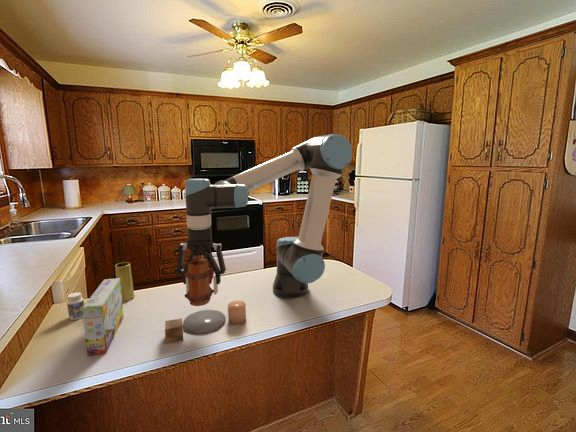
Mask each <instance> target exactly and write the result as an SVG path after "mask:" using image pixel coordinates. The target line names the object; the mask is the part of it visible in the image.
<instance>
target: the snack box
mask: <svg viewBox="0 0 576 432" xmlns="http://www.w3.org/2000/svg"><path fill="white" fill-rule="evenodd" d="M82 313H83V317H82V319H83V320H82V322H83V329H84V337H85V347H86V348H85V349H86V356H87V357H88V356H92V355H102V354H106V353H108V350H109V348H110V347H111V344H112V341H113V340H114V338H115V335H116V333H117V332H118V330H119V329H120V326H121V324H122V322H123V320H124V318H123V317H125V316H124V307H123V302H122V294H121V282H120V278H116V277H115V278H108V279H107V278H106V279H103V281H101V283H100V284H99V285H98V287H97V288H96V290H95V291H94V292H93V293H92V294H91V296H90V297H89V298H88V300H87V301H86V302H85V303H84V306H83V307H82Z"/></svg>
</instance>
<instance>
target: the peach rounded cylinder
mask: <svg viewBox="0 0 576 432" xmlns="http://www.w3.org/2000/svg"><path fill="white" fill-rule="evenodd" d="M246 308H247V307H246V302H245V301H243V300H232V301H231V302H229V303H228V304H227V318H228V324H229V325H232V326H241V325H243V324H245V323H246V321H247V312H246V311H247V309H246Z"/></svg>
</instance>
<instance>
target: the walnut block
mask: <svg viewBox="0 0 576 432" xmlns="http://www.w3.org/2000/svg"><path fill="white" fill-rule="evenodd" d="M164 336H165V344H166V345H169V344H174V343H179V341H180V342H184V328H183V318H182V317H181V318H177V319H169V320H165V321H164Z"/></svg>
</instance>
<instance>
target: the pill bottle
mask: <svg viewBox="0 0 576 432" xmlns="http://www.w3.org/2000/svg"><path fill="white" fill-rule="evenodd" d="M66 305H67V312H68V318H69V320H71V321H73V320H74V321H75V320H80V319H83V313H82V307H83V306H84V305H85V303H84V297H83V295H82V293H81V292H79V291H78V292H72V293H69V294H68V295H67V302H66Z"/></svg>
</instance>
